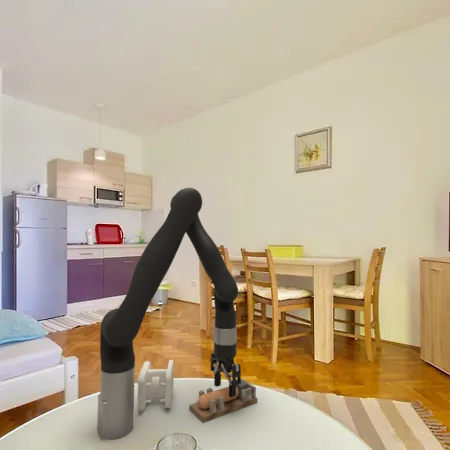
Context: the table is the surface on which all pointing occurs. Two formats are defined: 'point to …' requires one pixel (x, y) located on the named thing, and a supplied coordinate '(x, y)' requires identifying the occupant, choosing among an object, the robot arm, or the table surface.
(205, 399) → the tan rounded rod
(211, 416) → the brown pegged board
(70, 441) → the table surface
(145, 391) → the cable organizer
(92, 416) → the table surface
